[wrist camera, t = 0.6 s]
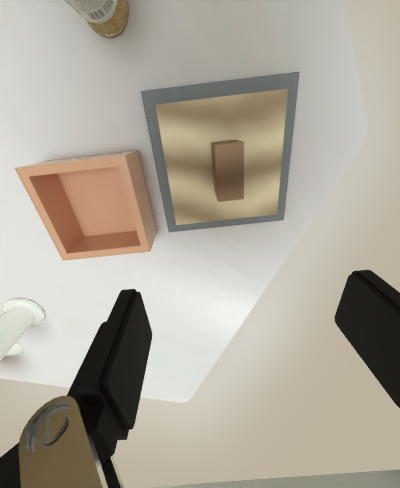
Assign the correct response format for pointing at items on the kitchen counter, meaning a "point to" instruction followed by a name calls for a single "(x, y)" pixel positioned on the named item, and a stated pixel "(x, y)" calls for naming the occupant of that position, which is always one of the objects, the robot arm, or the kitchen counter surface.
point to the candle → (17, 321)
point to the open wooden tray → (92, 204)
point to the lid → (224, 155)
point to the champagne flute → (14, 350)
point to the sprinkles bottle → (102, 15)
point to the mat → (212, 91)
